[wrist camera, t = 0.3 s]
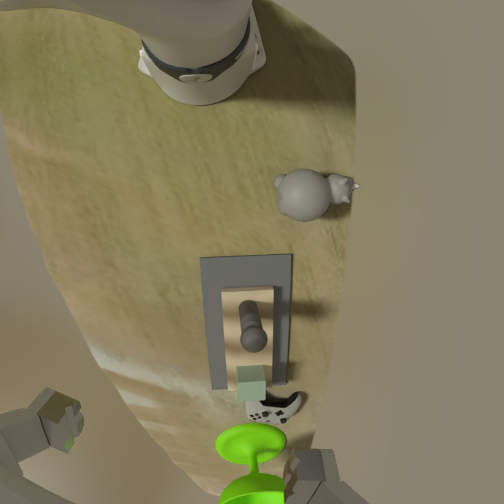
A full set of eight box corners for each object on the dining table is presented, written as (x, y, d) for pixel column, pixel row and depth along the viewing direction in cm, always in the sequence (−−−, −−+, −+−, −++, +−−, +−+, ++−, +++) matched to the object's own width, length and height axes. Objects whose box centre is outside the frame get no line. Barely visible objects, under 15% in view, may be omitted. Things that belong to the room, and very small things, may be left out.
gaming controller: (304, 392, 57) (301, 426, 53) (292, 393, 62) (289, 424, 59) (248, 386, 55) (244, 421, 52) (241, 387, 60) (237, 420, 57)
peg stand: (221, 288, 49) (222, 328, 37) (272, 285, 50) (287, 324, 38) (227, 385, 55) (230, 434, 43) (270, 382, 55) (281, 430, 44)
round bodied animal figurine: (348, 206, 48) (372, 216, 40) (275, 218, 47) (286, 230, 39) (344, 161, 46) (368, 163, 38) (268, 171, 45) (278, 173, 37)
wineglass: (284, 418, 60) (301, 484, 42) (286, 458, 64) (300, 516, 47) (209, 427, 59) (210, 495, 41) (221, 465, 63) (224, 525, 46)
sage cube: (236, 366, 52) (237, 382, 48) (262, 364, 52) (265, 380, 48) (237, 385, 53) (238, 401, 49) (262, 383, 54) (265, 399, 49)
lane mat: (200, 257, 48) (200, 258, 48) (290, 253, 49) (291, 254, 49) (212, 388, 55) (212, 389, 55) (285, 383, 57) (285, 384, 56)
